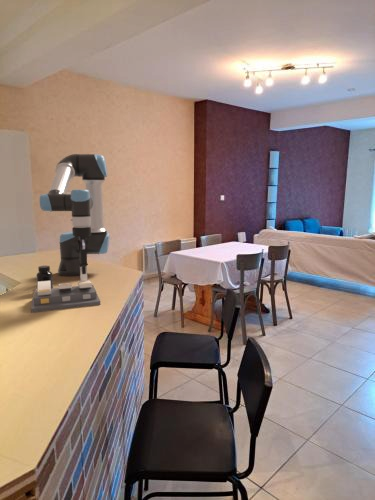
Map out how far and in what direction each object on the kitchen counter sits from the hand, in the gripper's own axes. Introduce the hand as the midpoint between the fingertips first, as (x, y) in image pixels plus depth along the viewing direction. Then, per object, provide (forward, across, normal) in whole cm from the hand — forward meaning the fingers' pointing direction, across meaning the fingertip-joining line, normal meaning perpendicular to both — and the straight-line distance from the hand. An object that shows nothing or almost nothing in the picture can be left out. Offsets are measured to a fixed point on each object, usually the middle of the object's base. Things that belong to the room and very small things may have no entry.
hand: (84, 280), depth 151 cm
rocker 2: (+1, +3, -8) cm, 9 cm away
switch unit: (+8, +4, -8) cm, 12 cm away
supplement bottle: (+8, -15, -16) cm, 23 cm away
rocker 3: (+1, +3, 0) cm, 3 cm away
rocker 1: (+1, +3, -16) cm, 16 cm away
